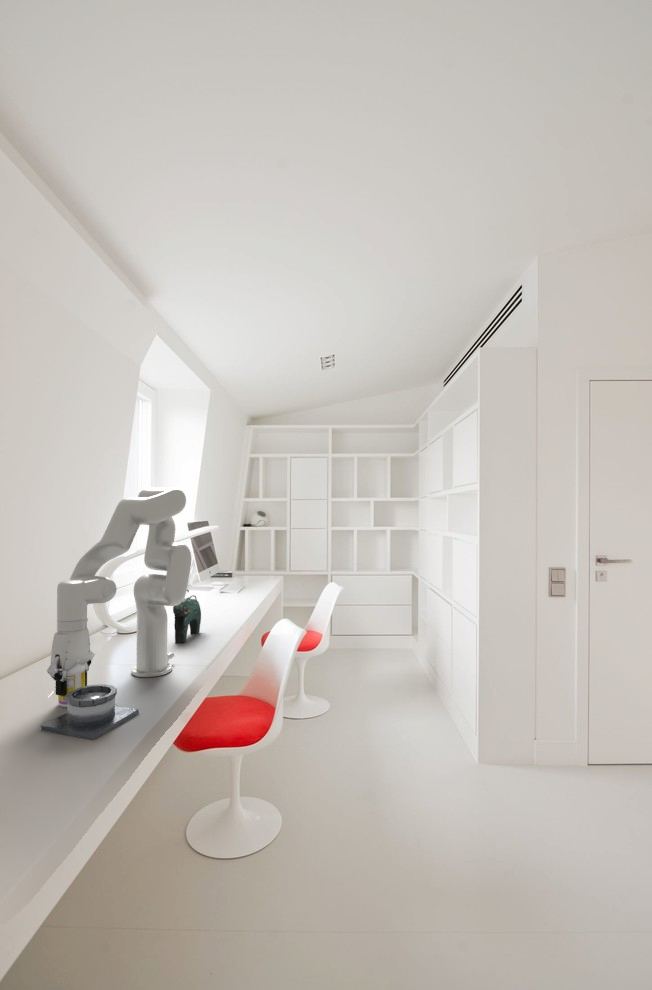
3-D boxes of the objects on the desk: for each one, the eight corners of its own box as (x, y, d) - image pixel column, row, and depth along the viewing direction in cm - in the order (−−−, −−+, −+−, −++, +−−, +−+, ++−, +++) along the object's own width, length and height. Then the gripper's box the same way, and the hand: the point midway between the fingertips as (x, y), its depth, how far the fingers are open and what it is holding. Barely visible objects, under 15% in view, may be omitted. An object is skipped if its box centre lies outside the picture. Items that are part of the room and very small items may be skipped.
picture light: (60, 683, 163) (60, 677, 163) (75, 683, 164) (76, 676, 164) (45, 700, 149) (45, 693, 149) (62, 700, 150) (62, 692, 150)
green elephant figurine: (184, 645, 205) (184, 593, 205) (168, 644, 206) (168, 592, 206) (203, 632, 225) (204, 585, 225) (189, 631, 226) (189, 584, 226)
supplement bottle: (78, 697, 151) (78, 651, 151) (89, 702, 147) (89, 656, 147) (53, 704, 146) (54, 657, 146) (64, 710, 142) (65, 661, 142)
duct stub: (89, 706, 144) (89, 678, 144) (138, 713, 139) (138, 685, 139) (40, 730, 129) (41, 699, 129) (94, 739, 124) (94, 708, 124)
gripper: (84, 617, 156) (84, 678, 156) (35, 631, 139) (34, 700, 139) (105, 619, 153) (105, 681, 153) (57, 634, 137) (57, 703, 137)
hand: (71, 689), depth 146 cm, fingers closed on supplement bottle, 6 cm apart
